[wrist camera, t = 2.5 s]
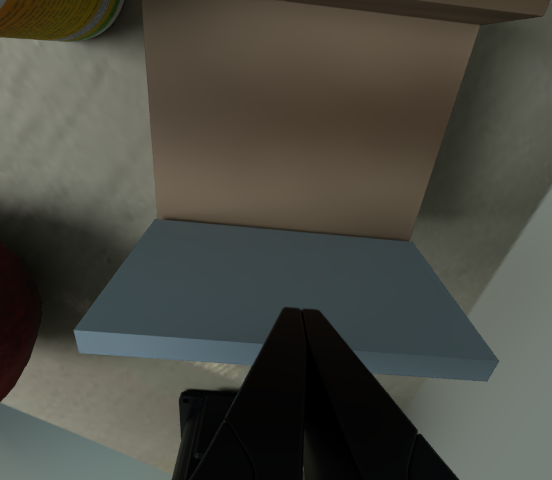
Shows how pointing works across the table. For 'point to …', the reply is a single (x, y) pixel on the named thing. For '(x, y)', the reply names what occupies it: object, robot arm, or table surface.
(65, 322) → the table surface
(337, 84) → the brown platform with wall
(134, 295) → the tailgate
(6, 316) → the fruit
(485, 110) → the table surface
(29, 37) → the supplement bottle
